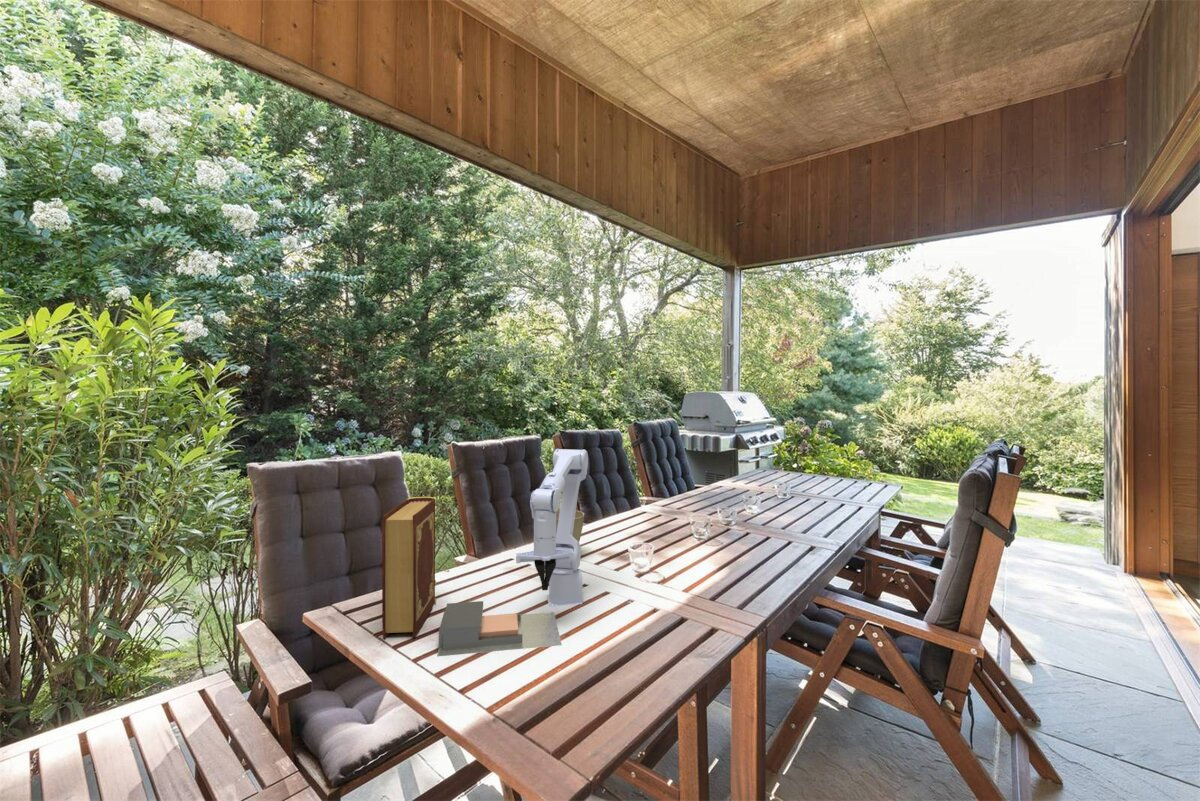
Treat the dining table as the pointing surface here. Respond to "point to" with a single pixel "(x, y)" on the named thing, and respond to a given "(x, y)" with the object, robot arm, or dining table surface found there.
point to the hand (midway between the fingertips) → (544, 588)
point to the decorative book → (408, 565)
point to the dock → (464, 636)
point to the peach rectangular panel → (499, 625)
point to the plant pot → (577, 524)
